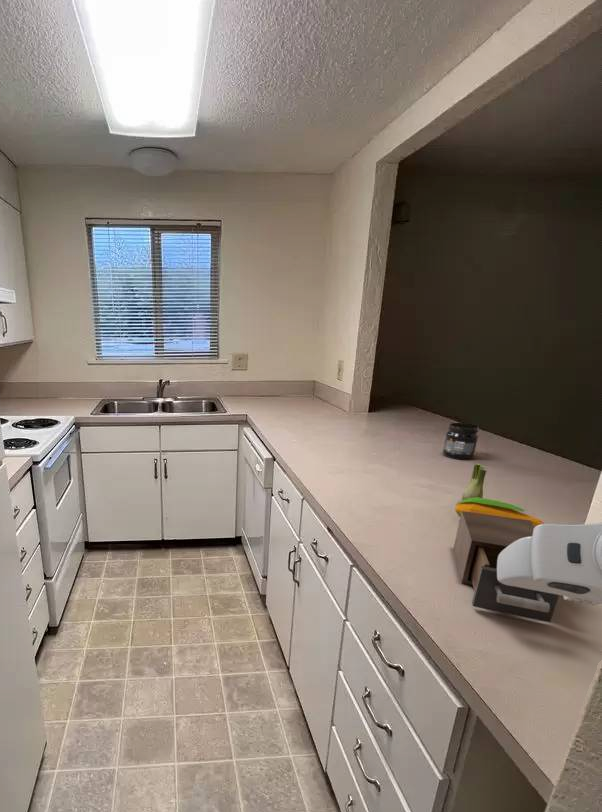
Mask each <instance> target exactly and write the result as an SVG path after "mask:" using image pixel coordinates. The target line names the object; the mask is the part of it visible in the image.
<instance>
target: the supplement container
mask: <svg viewBox="0 0 602 812" xmlns="http://www.w3.org/2000/svg"><path fill="white" fill-rule="evenodd" d="M478 432H479V425H476V424H473V423H467V422H466V423H465V422H452V423H450V424H448V431H446V433H445V440H444V445H443V449H442V454H443V455H444V456H445V457H447V458H450V459H456V460H471V459H473V458H474V456H475V451H476V447H477V442H478V439H479V434H478Z"/></svg>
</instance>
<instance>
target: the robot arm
mask: <svg viewBox="0 0 602 812" xmlns="http://www.w3.org/2000/svg"><path fill="white" fill-rule="evenodd" d="M497 579H498V581H499V582H501V583H502V584H505V585H509V586H515V587H520V588H525V589H530V590H536V591H541V592H546V593H551V594H557V595H559V596H563V600H564V601H568V602H574V603H581V604H584V605H589V606H596V605H599V604H601V605H602V522H596V523H582V524H581V523H579V524H578V523H577V524H576V523H575V524H574V523H573V524H571V523H569V524H566V523H545V524H541V525H538V526H536V527H535V528H534V530H533V536H530V537H524V538H521V539H518V540H516V541H515V542H513V543H512V544H510V545H509V546H507V547H506V548H505V549H504V550H503V551H502V552H501V553H500V554H499V555H498V559H497Z"/></svg>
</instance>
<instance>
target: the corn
mask: <svg viewBox="0 0 602 812" xmlns="http://www.w3.org/2000/svg"><path fill="white" fill-rule="evenodd" d="M454 511H455V513H456V514H457V516H459V518H460V517H461V513H462V511H465V512H472V513H479V514H487V515H494V516H501V517H508V518H515V519H522V520H529V521H531V522H532V524H533V525H534V527H536V526H538V525H541V524H546V523H545V522H544V521H542V520H541V519H539V518H536V517H534V516H531V515H528V514H526V513H523V512H525V511H526V509H523V508H521V507H519V506H516V505H514V504H510V503H507V502H502V501H499V500H494V499H489V498H479V497H475V498H467V499H464V500H462V499H461V500H460V501H459V502H457V503H456V504H455V508H454Z"/></svg>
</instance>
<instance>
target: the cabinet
mask: <svg viewBox="0 0 602 812" xmlns="http://www.w3.org/2000/svg"><path fill="white" fill-rule="evenodd" d="M534 528H535V527H534V525H533V524H532V522H531V521H529V520H522V519H515V518H508V517H501V516H494V515H487V514H479V513H472V512H465V511H462V513H461V517H460V516H459V522H458V526H457V531H456V536H455V539H454V544H453V549H452V550H453V554H454V558H455V562H456V566H457V570H458V575H459V578H460V582H461V584H462V585H463V584H464V585H470V586H473V585H472V581H471V578H470V574H469V572H470V568H471V564H472V560H473V556H474V551H475V547H476V545H478V546H484V547H490V548H496V549H502V550H504V549H505V548H506V547H507V546H509V545H510V544H512V543H513V542H515V541H516V540H518V539H521V538H524V537H530V536H533V530H534Z"/></svg>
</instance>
